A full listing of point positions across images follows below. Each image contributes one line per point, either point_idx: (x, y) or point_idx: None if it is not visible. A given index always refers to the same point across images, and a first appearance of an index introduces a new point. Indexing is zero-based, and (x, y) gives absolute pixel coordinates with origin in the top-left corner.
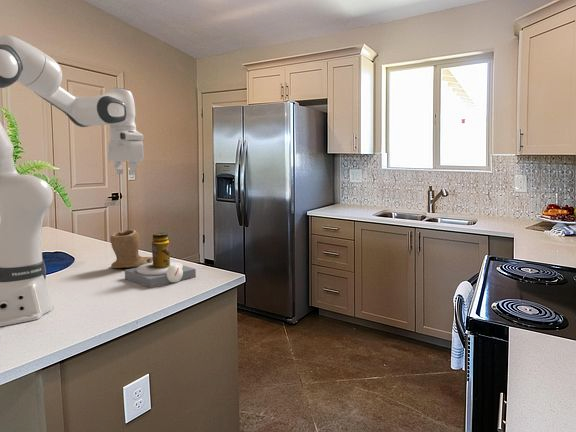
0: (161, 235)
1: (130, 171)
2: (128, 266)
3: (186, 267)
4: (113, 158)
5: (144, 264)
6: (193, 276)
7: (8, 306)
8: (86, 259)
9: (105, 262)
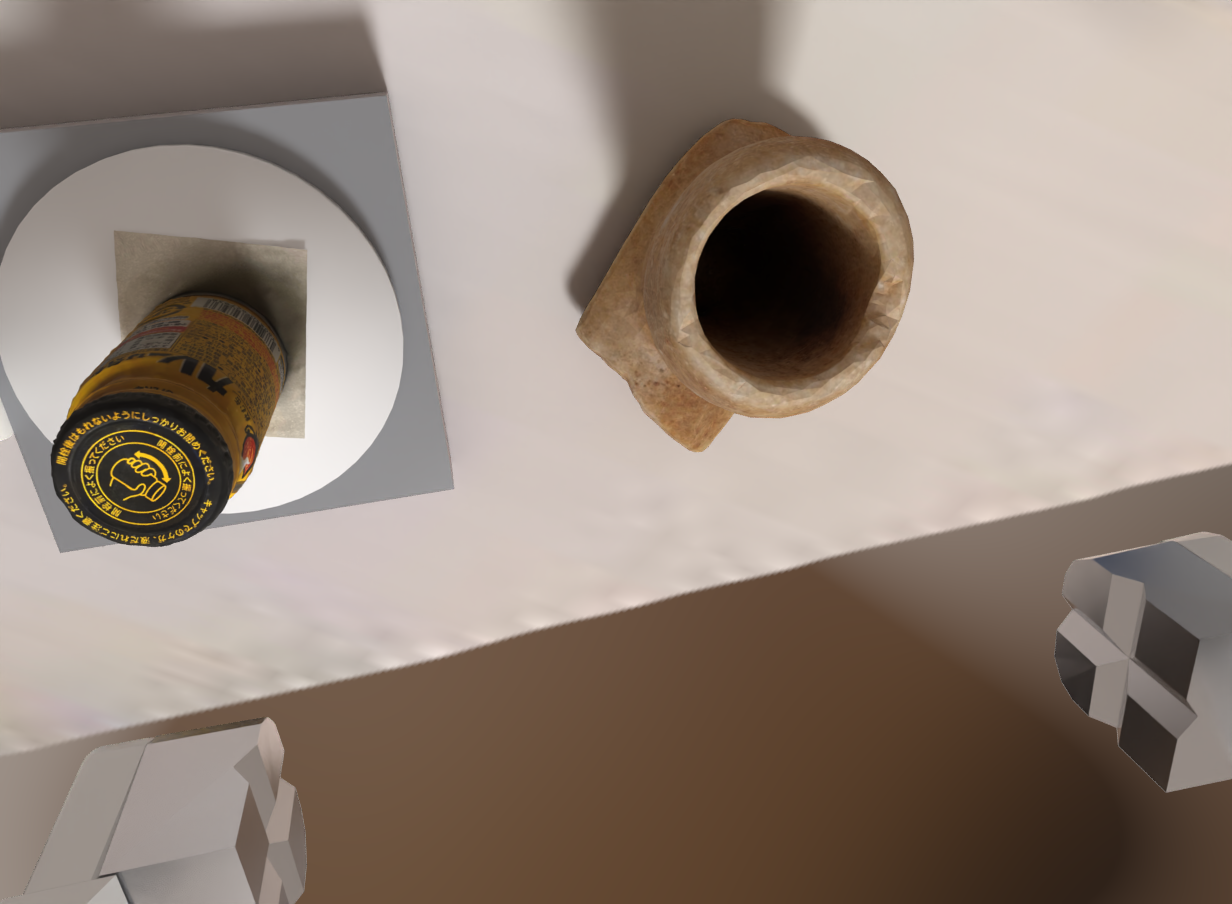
0: (52, 464)
1: (63, 830)
2: (637, 223)
3: None
4: None
5: (377, 275)
6: None
7: None
8: (1198, 76)
9: (987, 161)
